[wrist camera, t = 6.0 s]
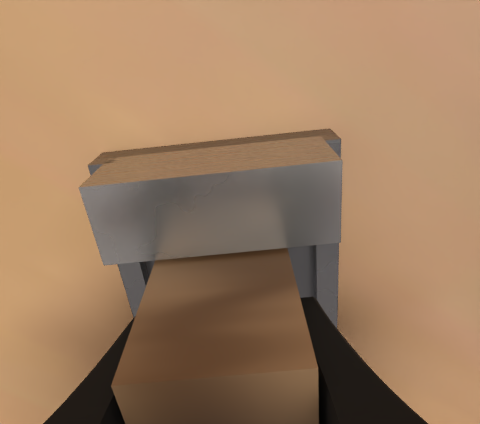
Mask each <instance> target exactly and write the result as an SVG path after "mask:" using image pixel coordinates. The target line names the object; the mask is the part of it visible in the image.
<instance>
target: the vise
mask: <svg viewBox="0 0 480 424" xmlns="http://www.w3.org/2000/svg"><path fill="white" fill-rule="evenodd" d="M88 168H89V171H90V174H91V176H90V177H89V178H88V179H87V180H86V181H85V182H84V183H83V184H82V185H81V186H80V187H79V190H80V193H81V196H82V199H83V202H84V206H85V209H86V212H87V215H88V218H89V221H90V224H91V227H92V230H93V233H94V237H95V240H96V243H97V246H98V249H99V252H100V255H101V258H102V261H103V265H113V264H118V267H119V271H120V274H121V277H122V280H123V284H124V287H125V290H126V294H127V297H128V300H129V304H130V307H131V310H132V314H133V317H135V316H136V314H137V311H138V308H139V305H140V302H141V299H142V297H143V294H144V291H145V288H146V285H147V282H148V280H149V277H150V274H151V271H152V268H153V265H154V262H155V260H165V259H175V258H186V257H196V256H207V255H217V254H228V253H238V252H248V251H259V250H269V249H280V248H287V249H288V252H289V256H290V260H291V264H292V268H293V272H294V276H295V280H296V284H297V287H298V291H299V295H300V298H303V297H314V298H316V299H317V301H318V302H319V304H320V306H321V307H322V309H323V310H324V312H325V313H326V314H327V316H328V317H329V319H330V320H331V321H332V323H333V324H334V325H335V327H336V328H337V311H338V262H339V243H341V200H342V159H341V138H339V137H338V136H337V135H336V134H335V133H334V132H333V131H332V130H331V129H323V130H313V131H304V132H294V133H285V134H276V135H266V136H257V137H247V138H238V139H228V140H219V141H209V142H200V143H191V144H181V145H172V146H162V147H153V148H143V149H134V150H124V151H115V152H106V153H102V154H100V155H99V156H98V157H97V158H96V159H95V160H94V161H92V162H91V163H90V164H89V165H88Z"/></svg>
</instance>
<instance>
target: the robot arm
mask: <svg viewBox="0 0 480 424" xmlns="http://www.w3.org/2000/svg"><path fill="white" fill-rule="evenodd" d="M300 299H301V303H302V307H303V311H304V315H305V318H306V322H307V326H308V330H309V334H310V338H311V342H312V346H313V350H314V353H315V357H316V361H317V365H318V390H319V424H428V423H427V422H426V421H424V420H423V419H422V418H421V417H420V416H419V415H418V414H417V413H415V412H414V411H413V410H412V409H411V408H410V407H409V406H408V405H407V404H406V403H405V402H403V401H402V400H401V399H400V398H399V397H398V396H397V395H396V394H395V393H394V392H393V391H392V390H391V389H390V388H389V387H388V386H387V385H386V384H385V383H384V382H383V381H382V380H381V379H380V378H379V377H378V376H377V375H376V374H375V373H374V372H373V370H372V369H371V368H370V367H369V366H368V365H367V364H366V363H365V362H364V361H363V360H362V358H361V357H360V356H359V355H358V354H357V353H356V351H355V350H354V349H353V348H352V347H351V345H350V344H349V343H348V342H347V341H346V339H345V338H344V337H343V336H342V335H341V333H340V332H339V331H338V329H337V328H336V327H335V325H334V324H333V323H332V321H331V320H330V319H329V317H328V316H327V314H326V313H325V312H324V310H323V309H322V307H321V306H320V304H319V302H318V301H317V299H316V298H314V297H303V298H300ZM134 319H135V317H134V318H133V320H132V321H131V322H130V323H129V325H128V326H127V327H126V328H125V330H124V331H123V332H122V334H121V335H120V336H119V338H118V339H117V340H116V341H115V343H114V344H113V345H112V346H111V348H110V349H109V350H108V352H107V353H106V354H105V355H104V356H103V358H102V359H101V360H100V361H99V363H98V364H97V365H96V366H95V367H94V369H93V370H92V371H91V372H90V373H89V375H88V376H87V377H86V378H85V379H84V380H83V381H82V383H81V384H80V385H79V386H78V387H77V388H76V389H75V391H74V392H73V393H72V394H71V395H70V396H69V397H68V398H67V400H66V401H65V402H64V403H63V404H62V405H61V406H60V407H59V408H58V409H57V410H56V411H55V412H54V413H53V414H52V415H51V416H50V417H49V418H48V419H47V420H46V421H45V422H44V423H43V424H125V421H124V419H123V416H122V414H121V411H120V408H119V406H118V403H117V400H116V398H115V395H114V393H113V390H112V387H111V385H112V382H113V379H114V376H115V373H116V370H117V368H118V365H119V362H120V359H121V356H122V353H123V351H124V348H125V345H126V342H127V339H128V336H129V333H130V331H131V328H132V325H133V322H134Z"/></svg>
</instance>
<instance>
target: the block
mask: <svg viewBox="0 0 480 424" xmlns="http://www.w3.org/2000/svg"><path fill="white" fill-rule="evenodd" d="M111 387H112V390H113V393H114V395H115V398H116V400H117V403H118V406H119V408H120V411H121V414H122V416H123V419H124V421H125V424H319V390H318V365H317V361H316V357H315V353H314V350H313V346H312V342H311V338H310V334H309V330H308V326H307V322H306V318H305V315H304V311H303V307H302V303H301V299H300V295H299V291H298V287H297V284H296V280H295V276H294V272H293V268H292V264H291V260H290V256H289V252H288V249H287V248H280V249H269V250H259V251H248V252H238V253H228V254H217V255H207V256H196V257H186V258H175V259H165V260H155V262H154V265H153V268H152V271H151V274H150V277H149V280H148V282H147V285H146V288H145V291H144V294H143V297H142V299H141V302H140V305H139V308H138V311H137V314H136V316H135V319H134V322H133V325H132V328H131V331H130V333H129V336H128V339H127V342H126V345H125V348H124V351H123V353H122V356H121V359H120V362H119V365H118V368H117V370H116V373H115V376H114V379H113V382H112V385H111Z"/></svg>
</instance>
